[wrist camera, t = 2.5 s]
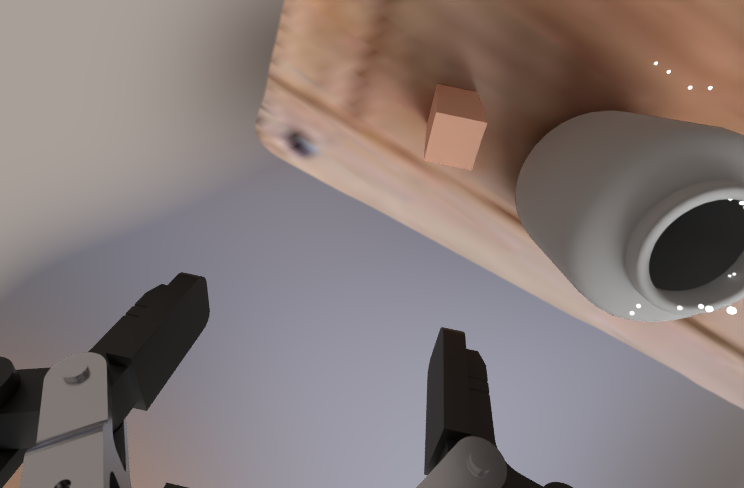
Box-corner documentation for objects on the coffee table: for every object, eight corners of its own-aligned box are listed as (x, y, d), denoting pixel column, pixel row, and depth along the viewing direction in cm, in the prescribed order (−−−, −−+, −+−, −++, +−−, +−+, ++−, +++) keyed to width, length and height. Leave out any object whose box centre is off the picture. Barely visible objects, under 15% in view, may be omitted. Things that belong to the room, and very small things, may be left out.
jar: (632, 26, 34) (926, 100, 13) (742, 126, 37) (1120, 312, 16) (481, 187, 44) (516, 370, 23) (577, 255, 47) (684, 471, 26)
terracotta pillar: (427, 123, 41) (423, 160, 33) (436, 83, 39) (436, 112, 31) (465, 131, 41) (471, 170, 33) (477, 92, 39) (487, 122, 30)
